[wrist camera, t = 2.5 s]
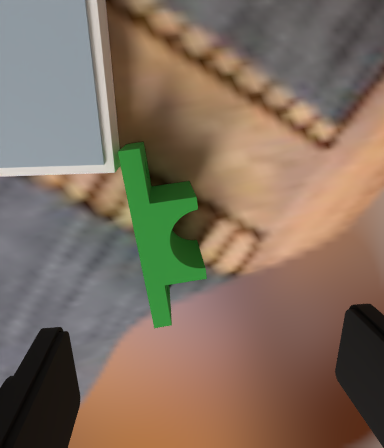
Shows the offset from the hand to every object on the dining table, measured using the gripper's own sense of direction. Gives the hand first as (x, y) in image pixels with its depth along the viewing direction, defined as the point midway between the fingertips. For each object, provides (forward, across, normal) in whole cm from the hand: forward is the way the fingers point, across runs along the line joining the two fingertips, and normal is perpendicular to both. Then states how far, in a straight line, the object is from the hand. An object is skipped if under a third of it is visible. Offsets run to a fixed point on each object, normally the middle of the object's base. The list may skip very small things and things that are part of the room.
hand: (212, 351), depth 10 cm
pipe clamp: (+13, +1, -1) cm, 13 cm away
